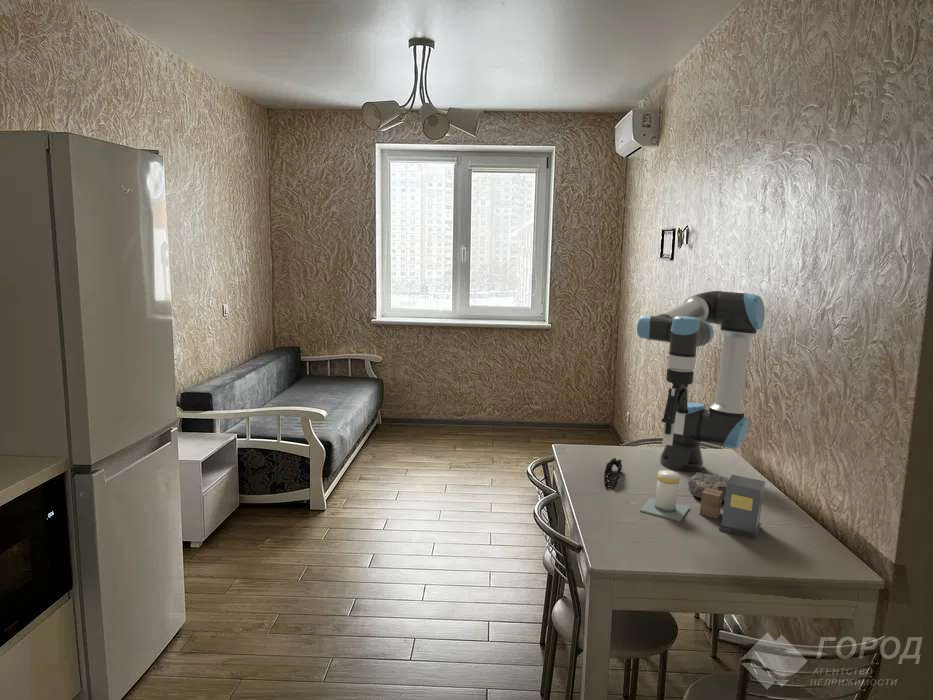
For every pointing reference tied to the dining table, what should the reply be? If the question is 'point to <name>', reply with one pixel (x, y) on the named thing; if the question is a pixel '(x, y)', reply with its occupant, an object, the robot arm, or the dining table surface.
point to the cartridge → (666, 491)
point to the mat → (675, 515)
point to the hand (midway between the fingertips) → (672, 439)
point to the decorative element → (612, 473)
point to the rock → (706, 484)
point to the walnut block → (711, 502)
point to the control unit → (742, 506)
